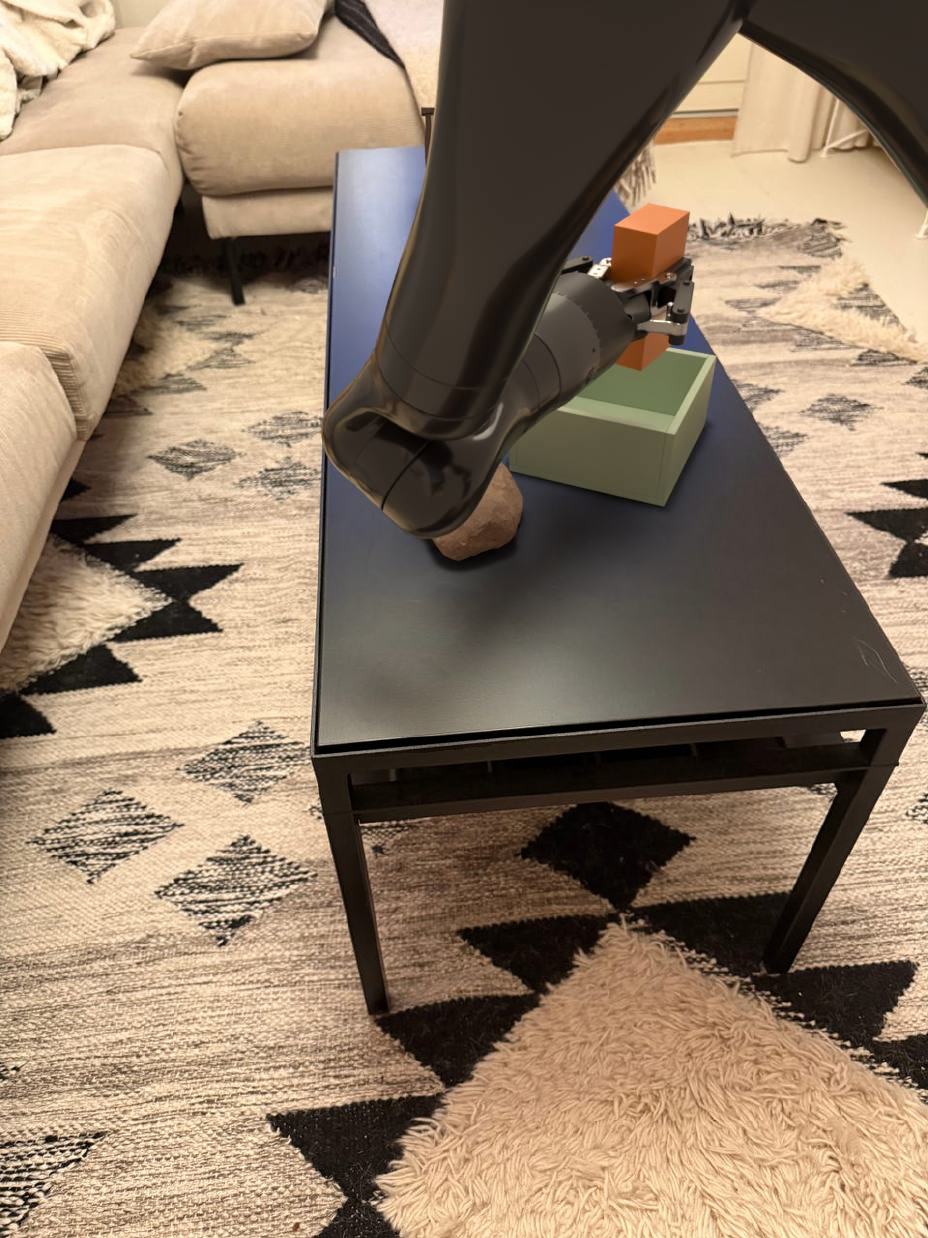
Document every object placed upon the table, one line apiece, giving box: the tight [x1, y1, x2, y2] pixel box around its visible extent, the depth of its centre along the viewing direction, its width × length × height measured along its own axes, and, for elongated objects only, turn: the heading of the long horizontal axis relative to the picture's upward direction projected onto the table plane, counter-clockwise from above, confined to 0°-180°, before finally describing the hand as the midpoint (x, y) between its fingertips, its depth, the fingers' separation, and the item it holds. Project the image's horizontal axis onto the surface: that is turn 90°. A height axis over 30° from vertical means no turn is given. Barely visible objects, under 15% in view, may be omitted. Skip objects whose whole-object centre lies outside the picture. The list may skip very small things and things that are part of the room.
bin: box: [508, 346, 718, 507], centre depth 91 cm, size 16×16×8 cm
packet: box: [610, 202, 691, 371], centre depth 74 cm, size 4×6×11 cm, turn 145°
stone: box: [431, 462, 524, 562], centre depth 82 cm, size 12×9×10 cm
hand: (661, 264), depth 75 cm, fingers closed on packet, 3 cm apart
